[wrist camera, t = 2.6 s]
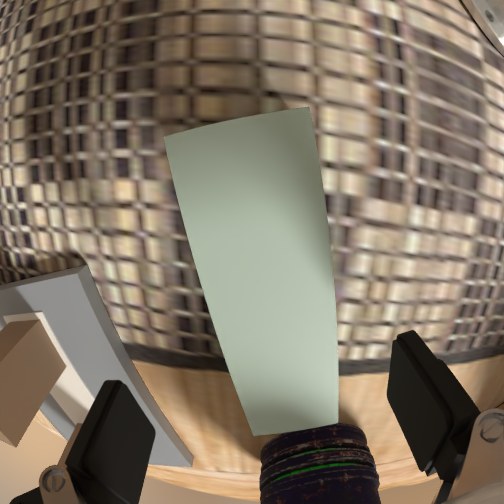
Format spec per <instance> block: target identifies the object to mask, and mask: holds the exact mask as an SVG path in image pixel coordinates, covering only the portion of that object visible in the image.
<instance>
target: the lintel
mask: <svg viewBox="0 0 504 504" xmlns="http://www.w3.org/2000/svg"><path fill="white" fill-rule="evenodd" d="M163 138H164V143H165V148H166V152H167V156H168V161H169V165H170V169H171V174H172V178H173V182H174V186H175V190H176V194H177V198H178V202H179V206H180V210H181V214H182V218H183V222H184V225H185V229H186V233H187V237H188V240H189V244H190V248H191V251H192V255H193V258H194V262H195V265H196V269H197V272H198V276H199V279H200V282H201V286H202V289H203V292H204V296H205V299H206V302H207V305H208V309H209V312H210V315H211V318H212V321H213V324H214V328H215V331H216V334H217V337H218V340H219V343H220V346H221V349H222V352H223V355H224V358H225V361H226V364H227V366H228V369H229V372H230V375H231V378H232V381H233V383H234V386H235V389H236V392H237V395H238V397H239V400H240V403H241V405H242V408H243V411H244V413H245V416H246V419H247V421H248V424H249V426H250V429H251V432H252V434H253V436H260V435H270V434H278V433H285V432H292V431H299V430H305V429H310V428H316V427H321V426H326V425H331V424H336V423H338V399H339V391H338V343H337V321H336V304H335V290H334V278H333V266H332V256H331V246H330V236H329V228H328V219H327V211H326V204H325V196H324V189H323V182H322V176H321V169H320V163H319V157H318V151H317V145H316V140H315V134H314V129H313V124H312V118H311V113H310V108H309V107H304V108H296V109H289V110H282V111H276V112H270V113H264V114H258V115H253V116H247V117H242V118H237V119H232V120H228V121H223V122H219V123H214V124H210V125H206V126H202V127H198V128H194V129H190V130H186V131H182V132H179V133H175V134H171V135H168V136H164V137H163Z"/></svg>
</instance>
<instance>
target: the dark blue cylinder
mask: <svg viewBox="0 0 504 504" xmlns="http://www.w3.org/2000/svg"><path fill="white" fill-rule="evenodd" d="M261 463H262V467H261V475H260V491H261V497H260V501H261V504H381V501H380V497H379V494H378V487H379V485H380V483H379V475H378V474H377V471H376V465H375V462H374V458H373V456H372V455H371V453H370V449H369V448H368V446H367V439H366V436H365V434H364V432H363V431H362V430H361V429H360V428H358V427H355V426H352V425H349V424H341V423H336V424H331V425H326V426H321V427H316V428H310V429H305V430H299V431H292V432H286V433H284V434H281V435H279V436H277V437H276V438H274V439H272V440H271V441H269V442H268V443H267V444H266V445H265V446H264V447H263V449H262V451H261Z"/></svg>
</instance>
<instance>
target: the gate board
mask: <svg viewBox="0 0 504 504" xmlns="http://www.w3.org/2000/svg"><path fill="white" fill-rule="evenodd" d="M106 380H121V381H122V382H123V383H124V384H126V385H127V386H128V388H129V390H130V391H131V393H132V395H133V396H134V398H135V399H136V401H137V402H138V404H139V406H140V407H141V409H142V410H143V412H144V413H145V415H146V416H147V418H148V419H149V420H150V422H151V423H152V425H153V426H154V428H155V431H156V436H155V440H154V444H153V447H152V451H151V455H150V459H149V463H148V464H152V465H164V466H179V467H192V465H193V459H194V457H193V455H192V454H191V453H190V451H189V450H188V449H187V447H186V446H185V445H184V443H183V442H182V440H181V439H180V438H179V436H178V435H177V433H176V432H175V431H174V429H173V428H172V426H171V425H170V423H169V422H168V420H167V419H166V417H165V416H164V414H163V413H162V411H161V410H160V408H159V407H158V405H157V403H156V402H155V400H154V399H153V397H152V395H151V394H150V392H149V390H148V389H147V387H146V385H145V384H144V382H143V380H142V379H141V377H140V375H139V373H138V372H137V370H136V368H135V366H134V364H133V363H132V361H131V359H130V357H129V355H128V353H127V351H126V350H125V348H124V346H123V344H122V342H121V340H120V338H119V336H118V334H117V332H116V330H115V328H114V326H113V324H112V321H111V319H110V317H109V315H108V313H107V311H106V308H105V306H104V304H103V302H102V299H101V297H100V295H99V292H98V290H97V288H96V285H95V283H94V280H93V278H92V275H91V273H90V270H89V268H88V265H83V266H79V267H75V268H70V269H66V270H62V271H57V272H53V273H49V274H45V275H40V276H36V277H32V278H28V279H24V280H20V281H16V282H11V283H7V284H3V285H0V440H1V441H3V442H5V443H7V444H9V445H12V446H14V447H17V446H18V444H19V442H20V440H21V438H22V437H23V435H24V433H25V432H26V430H27V428H28V426H29V425H30V423H31V421H32V420H33V418H34V416H35V415H36V413H37V411H38V410H39V409H40V411H41V412H42V413H43V414H44V416H45V417H46V418H47V419H48V420H49V421H50V423H51V424H52V425H53V426H54V427H55V428H56V429H57V430H58V432H59V433H60V434H61V435H62V436H63V437H64V438H65V439H66V440H67V441H68V443H67V445H66V447H65V449H64V451H63V454H62V456H61V458H60V460H59V462H58V464H57V465H60V466H63V467H64V468H65V469H66V467H67V465H66V464H65V461H66V458H67V456H68V454H69V452H70V450H71V447H72V445H73V443H74V441H75V439H76V437H77V435H78V432H79V430H80V428H81V426H82V424H83V422H84V420H85V418H86V416H87V414H88V412H89V410H90V408H91V406H92V404H93V402H94V400H95V398H96V396H97V394H98V392H99V390H100V388H101V386H102V385H103V383H104V381H106Z"/></svg>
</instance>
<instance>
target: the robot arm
mask: <svg viewBox="0 0 504 504" xmlns="http://www.w3.org/2000/svg"><path fill="white" fill-rule="evenodd" d="M462 1H463V3H464V4H465V6H466V7H467V9H468V10H469V12H470V14H471V15H472V17H473V18H474V20H475V21H476V22H477V24H478V25H479V26H480V28H481V29H482V31H483V32H484V33H485V35H486V36H487V37H488V38H489V40H490V41H491V42H492V43H493V45H494V46H495V47H496V48H497V49H498V51H499V52H500V53H501V54H502V55H503V56H504V0H462ZM387 398H388V401H389V403H390V406H391V408H392V410H393V412H394V414H395V416H396V418H397V420H398V423H399V425H400V427H401V429H402V431H403V434H404V436H405V438H406V440H407V442H408V445H409V447H410V449H411V451H412V454H413V456H414V458H415V461H416V463H417V465H418V468H419V470H420V471H421V472H423V471H425V472H426V475H427V477H428V476H430V475H432V474H434V473H436V472H437V474H438V476H439V478H440V480H441V482H440V485H439V487H438V490H437V492H436V494H435V497H434V499H433V501H432V504H504V410H501V409H497V408H495V409H489V410H486V411H484V412H482V413H481V412H480V411H479V409H478V408H477V406H476V405H475V404H474V402H473V401H472V399H471V398H470V396H469V395H468V394H467V392H466V391H465V389H464V388H463V387H462V385H461V384H460V383H459V381H458V380H457V379H456V377H455V376H454V375H453V373H452V372H451V371H450V369H449V368H448V367H447V365H446V364H445V363H444V362H443V361H442V360H440V359H437V358H436V357H435V356H434V354H433V353H432V352H431V350H430V349H429V348H428V347H427V345H426V344H425V343H424V342H423V340H422V339H421V338H420V336H419V335H418V334H417V333H416V332H415V331H414V330H411V331H408V332H405V333H401V334H399V335H398V336H397V339H396V340H393V343H392V354H391V363H390V372H389V380H388V387H387ZM155 436H156V431H155V428H154V426H153V425H152V423H151V422H150V420H149V419H148V418H147V416H146V415H145V413H144V412H143V410H142V409H141V407H140V406H139V404H138V402H137V401H136V399H135V398H134V396H133V395H132V393H131V391H130V390H129V388H128V386H127V385H126V384H124V383H123V382H122V381H121V380H106V381H104V383H103V385H102V386H101V388H100V390H99V392H98V394H97V396H96V398H95V400H94V402H93V404H92V406H91V408H90V410H89V412H88V414H87V416H86V418H85V420H84V422H83V424H82V426H81V428H80V430H79V432H78V435H77V437H76V439H75V441H74V443H73V445H72V447H71V450H70V452H69V454H68V456H67V458H66V461H65V464H66V465H67V467H66V469H65V468H64V467H63V466H60V465H52V466H49V467H48V468H46V469H45V470H44V471H43V472H42V474H41V475H40V478H39V487H37V488H35V489H33V490H31V491H29V492H26V493H24V494H22V495H20V496H17V497H16V498H14V499H13V500H12V501H11V502H10V504H138V503H139V500H140V495H141V491H142V487H143V483H144V479H145V475H146V471H147V467H148V463H149V459H150V455H151V451H152V447H153V444H154V440H155Z"/></svg>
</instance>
